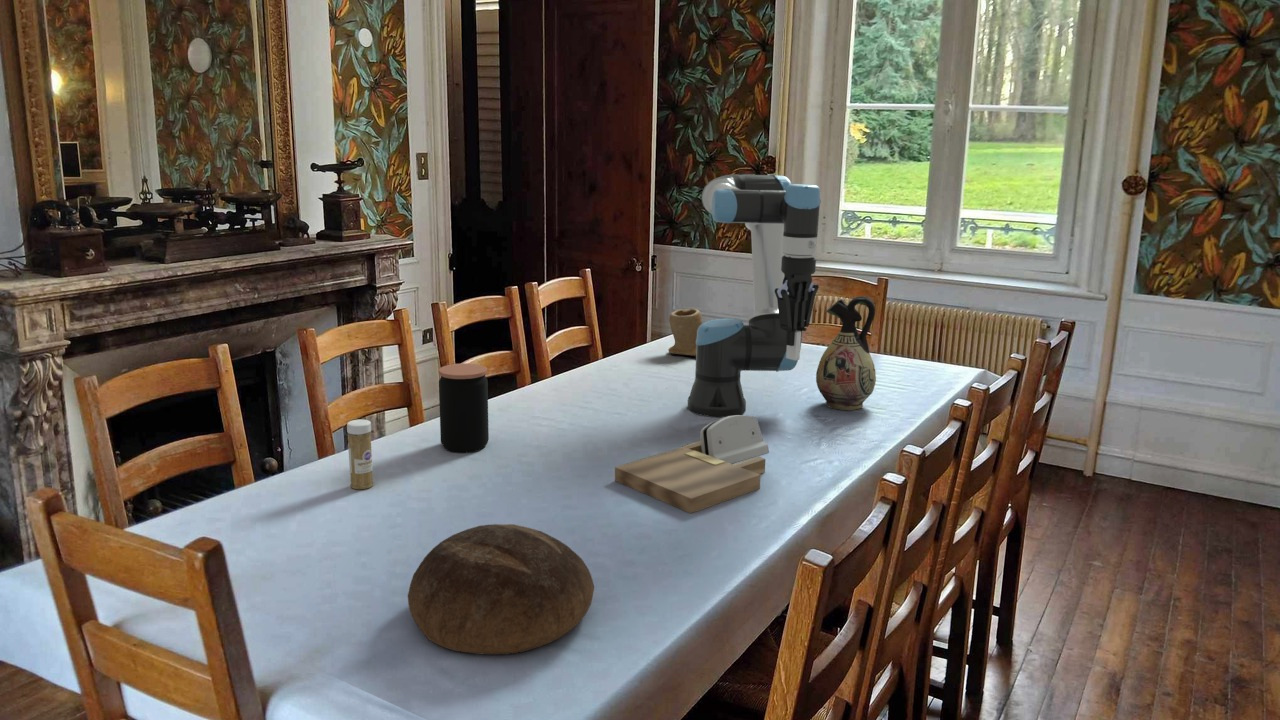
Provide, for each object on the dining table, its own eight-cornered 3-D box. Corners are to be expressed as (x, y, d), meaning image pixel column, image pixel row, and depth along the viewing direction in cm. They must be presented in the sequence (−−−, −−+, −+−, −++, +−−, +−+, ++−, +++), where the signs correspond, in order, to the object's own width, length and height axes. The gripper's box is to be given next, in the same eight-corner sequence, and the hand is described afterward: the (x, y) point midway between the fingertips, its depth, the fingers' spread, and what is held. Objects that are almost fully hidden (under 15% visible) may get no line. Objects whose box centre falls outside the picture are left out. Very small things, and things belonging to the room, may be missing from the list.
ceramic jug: (808, 410, 249) (815, 296, 241) (820, 395, 262) (828, 287, 255) (874, 418, 242) (884, 302, 235) (883, 403, 256) (892, 293, 249)
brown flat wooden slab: (613, 480, 197) (613, 465, 196) (707, 451, 215) (707, 438, 214) (690, 513, 181) (691, 497, 180) (784, 479, 199) (785, 464, 198)
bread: (513, 685, 125) (512, 593, 122) (373, 625, 139) (368, 541, 136) (624, 605, 146) (626, 526, 143) (492, 560, 160) (491, 487, 157)
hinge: (718, 467, 205) (708, 422, 205) (703, 468, 209) (694, 424, 209) (770, 452, 216) (761, 408, 216) (755, 453, 219) (746, 410, 220)
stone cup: (661, 356, 303) (662, 310, 299) (677, 349, 313) (678, 304, 310) (704, 362, 296) (706, 315, 293) (719, 354, 307) (721, 309, 303)
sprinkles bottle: (365, 491, 188) (362, 426, 185) (345, 488, 189) (341, 424, 186) (378, 483, 192) (375, 420, 189) (358, 480, 194) (355, 417, 190)
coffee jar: (497, 442, 218) (496, 366, 214) (470, 456, 209) (469, 377, 204) (459, 435, 223) (457, 361, 218) (431, 449, 213) (428, 371, 209)
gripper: (793, 259, 204) (787, 366, 210) (830, 255, 212) (823, 357, 218) (766, 255, 209) (761, 359, 215) (804, 251, 218) (797, 351, 223)
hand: (792, 358), depth 216 cm, fingers closed
